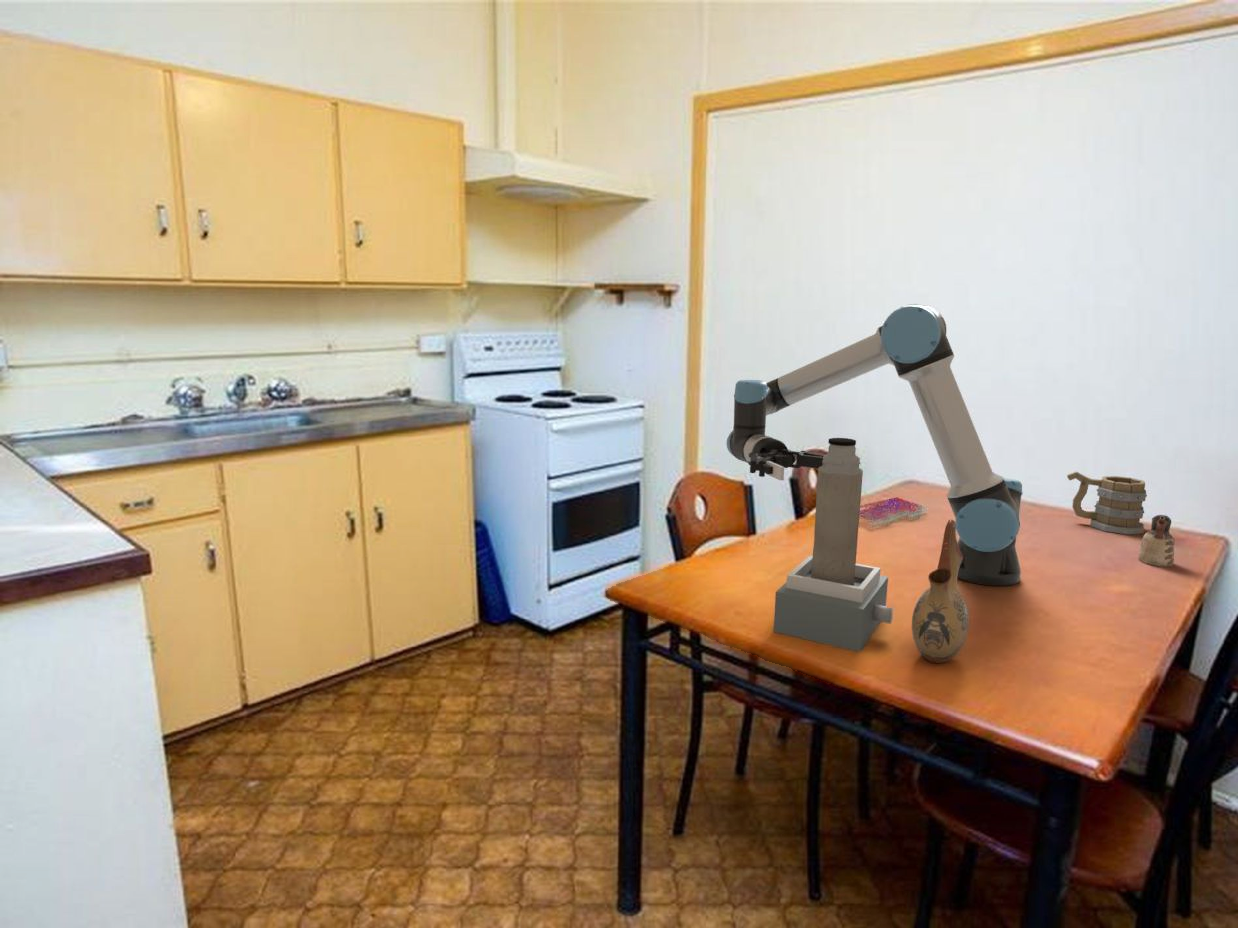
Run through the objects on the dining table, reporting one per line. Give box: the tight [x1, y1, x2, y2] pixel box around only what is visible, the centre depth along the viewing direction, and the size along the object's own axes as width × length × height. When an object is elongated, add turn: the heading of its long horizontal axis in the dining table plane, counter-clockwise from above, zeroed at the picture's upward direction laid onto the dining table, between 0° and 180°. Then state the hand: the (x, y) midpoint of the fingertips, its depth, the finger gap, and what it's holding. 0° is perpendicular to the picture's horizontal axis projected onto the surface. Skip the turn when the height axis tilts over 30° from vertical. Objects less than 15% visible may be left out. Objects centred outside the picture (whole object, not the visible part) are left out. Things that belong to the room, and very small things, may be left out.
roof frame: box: [859, 496, 929, 530], centre depth 227 cm, size 30×15×5 cm, turn 126°
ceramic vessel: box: [911, 519, 970, 664], centre depth 134 cm, size 16×9×25 cm, turn 148°
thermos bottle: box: [811, 437, 864, 586], centre depth 146 cm, size 8×8×28 cm
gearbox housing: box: [773, 555, 894, 653], centre depth 149 cm, size 19×20×10 cm
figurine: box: [1138, 514, 1175, 568], centre depth 189 cm, size 7×7×12 cm
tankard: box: [1066, 471, 1148, 536], centre depth 220 cm, size 20×13×15 cm, turn 58°
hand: (813, 472), depth 157 cm, fingers open, 13 cm apart
